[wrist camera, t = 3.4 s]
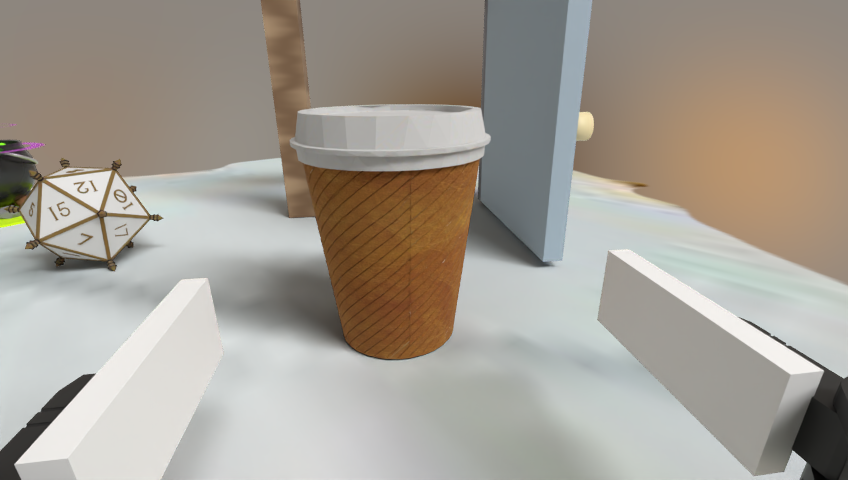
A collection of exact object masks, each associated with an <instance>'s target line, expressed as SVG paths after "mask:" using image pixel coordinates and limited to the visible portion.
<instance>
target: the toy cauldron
mask: <svg viewBox="0 0 848 480" xmlns="http://www.w3.org/2000/svg"><path fill="white" fill-rule="evenodd" d="M24 144H25V143H24ZM27 144H29V143H27ZM34 144H36V143H33V144H31V143H30V145H31V146H30V149H31V147H32V146H33V145H34ZM38 144H39V143H38ZM38 144H36V147H37V146H39V145H38ZM43 145H44V144H43ZM41 146H42V144H41ZM33 147H35V146H33ZM36 147H35V148H36ZM27 148H28V149H29V147H27ZM27 148H24V146H23V145H22V143H21V141H20V140H0V227H6V226H11V225H16V224H21V223H25V221H24V220H23V218H22V216H21V214H20V213H19V212H16V213H9V212H8V211H6V210H4V208H6V207H9V205H11V206H16V207H20V206H21V205H22V203H23V202H24V200H25V199H26V197H27V196H28V195H29V193H30V192H31V190H30V189H31V188H32V187H33V185H34V184H35V180H36V179H33V178H32V177H30V173H29V170H30V171H37V169H36V166H35V164H38V161H37V160H35V159H33V157H32V156H31V155H30V153H29V152H28V151H27Z"/></svg>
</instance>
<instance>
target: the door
mask: <svg viewBox="0 0 848 480" xmlns="http://www.w3.org/2000/svg"><path fill="white" fill-rule="evenodd" d="M591 7H592V0H485V15H484V41H483V69H482V98H481V111H482V117H483V122H484V128H485V133H487V134H489V135H490V136H491V140H490V142H489V144H487V145H485V150H484V156H483V157H481V158H480V161H479V180H478V199H479V200H480V201H481V202H482V203H483V204H484V205H485V206H486V207H487V208H488V209H489V210H490V211H491V212H492V213H493V214H494V215H496V216H497V217H498V218H499V219H500V220H501V221H502V222H503V223H504V224H505V225H506V226H507V227H508V228H509V229H510V230H511V231H512V232H513V233H514V234H515V235H516V236H517V237H518V238H519V239H520V240H521V241H522V242H523V243H524V244H525V245H526V246H527V247H528V248H529V249H530V250H531V251H532V252H533V253H534V254H536V255H537V256H538V257H539V258H540V259H541V260H542V261H543V262H547V261H561V260H562V257H563V249H564V240H565V231H566V223H567V214H568V206H569V197H570V188H571V180H572V171H573V162H574V154H575V145H576V141H584V140H585V141H586V140H588V139H589V138H590V137H591V135H592V133H593V127H594V120H593V116H592V115H591V113H589V112H579V111H580V102H581V93H582V84H583V76H584V67H585V59H586V50H587V42H588V33H589V24H590V16H591Z"/></svg>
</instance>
